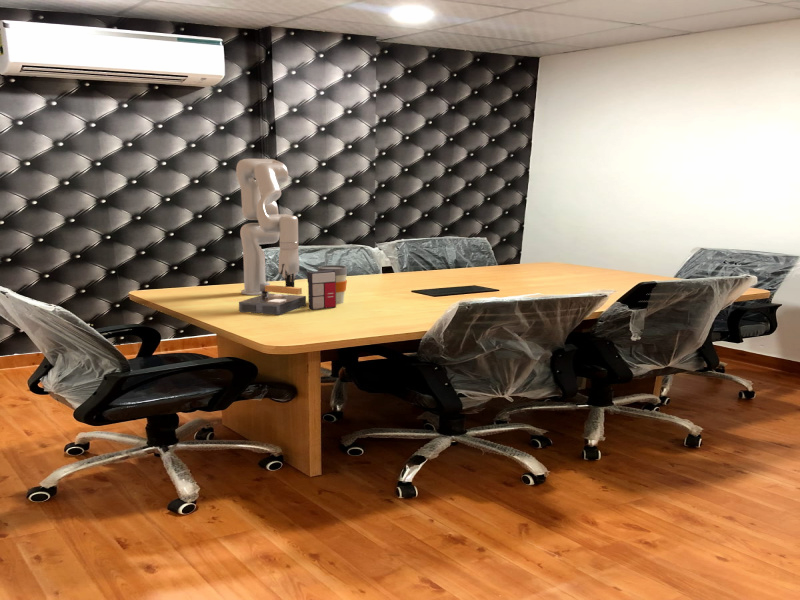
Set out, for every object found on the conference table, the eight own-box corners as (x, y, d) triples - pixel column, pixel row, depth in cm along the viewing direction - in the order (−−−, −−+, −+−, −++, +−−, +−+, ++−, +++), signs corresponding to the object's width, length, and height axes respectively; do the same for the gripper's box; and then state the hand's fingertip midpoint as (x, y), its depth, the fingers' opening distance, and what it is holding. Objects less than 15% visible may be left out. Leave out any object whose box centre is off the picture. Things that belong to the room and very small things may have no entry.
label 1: (276, 294, 305) (276, 294, 305) (287, 295, 303) (287, 294, 303) (269, 297, 299) (269, 296, 299) (280, 297, 298) (280, 297, 298)
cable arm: (258, 291, 304) (258, 284, 303) (263, 289, 307) (263, 283, 306) (297, 294, 294) (297, 287, 294) (302, 293, 297) (302, 286, 297)
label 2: (275, 299, 294) (275, 298, 294) (286, 300, 292) (286, 299, 292) (267, 301, 288) (267, 301, 288) (278, 302, 287) (278, 302, 287)
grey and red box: (312, 310, 293) (311, 273, 290) (307, 308, 296) (307, 271, 294) (337, 307, 298) (336, 271, 296) (332, 306, 302) (331, 270, 299)
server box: (267, 302, 309) (266, 289, 308) (306, 305, 303) (305, 292, 302) (238, 312, 289) (237, 298, 288) (279, 315, 283) (278, 301, 282)
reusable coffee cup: (318, 300, 317) (317, 265, 314) (347, 299, 318) (346, 265, 315) (317, 305, 304) (317, 269, 302) (348, 304, 305) (347, 268, 303)
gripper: (289, 244, 307) (290, 287, 310) (271, 247, 293) (273, 293, 296) (305, 244, 304) (306, 288, 308) (288, 248, 290) (289, 294, 294)
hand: (290, 290), depth 302 cm, fingers closed
